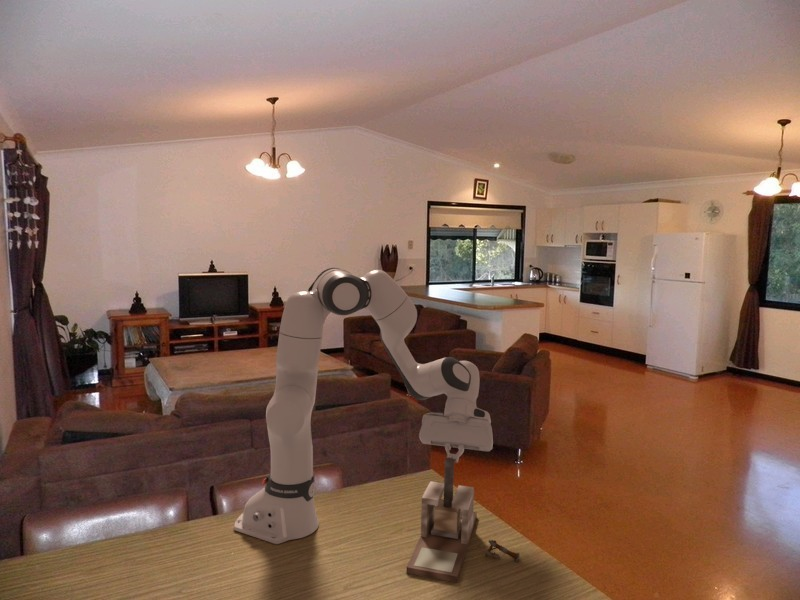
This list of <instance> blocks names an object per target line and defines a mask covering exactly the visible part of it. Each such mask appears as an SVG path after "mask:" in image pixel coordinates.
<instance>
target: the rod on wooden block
mask: <svg viewBox="0 0 800 600" xmlns="http://www.w3.org/2000/svg"><path fill="white" fill-rule="evenodd" d="M454 473H455V462H454V459H453V458H447V457H446V458H444V476H443V478H444V479H443V483H444V493H443V499H442V498H441V499H440V502H439V504H438V506H436V505H435V506H436V507H435V510H434V526H433V528H432V530H431V535H437V536H443V537H449V538H455V539H458V537H459V534H460V531H461V528H462V520H461V510H462V509H456V508H452V500H453V498H454V482H455V481H454V478H455V477H454V475H455V474H454Z"/></svg>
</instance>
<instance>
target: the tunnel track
mask: <svg viewBox="0 0 800 600" xmlns="http://www.w3.org/2000/svg"><path fill="white" fill-rule="evenodd" d="M443 496H444V482H437V481H431V480H430V482H429V483H428V485H427V487H426V489H425V490H424V492H423V494H422V497H421V509H420V511H421V513H420V515H421V516H420V517H421V518H420V538H419V539H418V542H417V544H416V546H415V548H414V550H413V553H412V555H411V557H410V559H409V561H408V564H407V565H406V572H405V573H406V574H408V575H409V574H410V575H414V576H415V575H416V576H421V577H424V578H431V579H436V580H440V581H441V580H442V581H447V582H452V583H456V584H457V583H458V580H459V578H460V574H461V571H462V567H463V564H464V560H465V557H466V554H467V552H468V551H467V550H468V547H469V543H470V541H471V540H470V539H471V536H472V534H473V531H474V527H475V523H476V521H477V517H478V516H477V513H478V512H475V511H474V502H475V500H474V499H475V487H473V486H467V485H461V484H460V485H459V484H458V486H457V489H456V491H455V493H454V495H453V500H452V508H456V509H461V520H462V528H461V531H460V534H459V537H458V539H455V538H449V537H443V536H437V535H431V530H432V528H433V526H434V510H435V507H436V506H438V504H439V502H440V499H442V497H443Z"/></svg>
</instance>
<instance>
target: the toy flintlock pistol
mask: <svg viewBox="0 0 800 600" xmlns="http://www.w3.org/2000/svg"><path fill="white" fill-rule="evenodd" d="M488 543H489V545H490V546H489V548H488V549H486V552H485V554H484V555H485V556H486V557H488V556H489V555H491V556H492V558H495V559H497V560H498V559H501V556H500V555H499V554H498V553H496V552H495V551H494V552H493V550H496V549H498V550H499V551H500V552H501V553H503V554H504V555H508V556H509V557H511V558H512V559H513V560H514V561H515V563H517V562H518V560H519V559H520V552H513V551H511V550H509V549H508V548H507V547H504V546H503V545H500V544H498V543H497V541H496V540H493V539H489V540H488Z"/></svg>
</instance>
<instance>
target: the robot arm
mask: <svg viewBox="0 0 800 600" xmlns="http://www.w3.org/2000/svg"><path fill="white" fill-rule="evenodd" d="M363 309H365V310H366V311H368V313H369V314H370V315H371V317H372V318H373V320H374V321H375V322H376V324H377V325H378V327H379V329H380V332H379V338H380V341H381V344H382V346H383V348H384V349H385V352H386V353H387V354H388V356H389V358H390V359H391V361H392V363H393V364H394V366H395V368H396V369H397V371H398V373H399V374H400V376H401V378H402V380H403V383H404V386H405V387H406V390H407V392H408V394H409V395H410V396H412V397H413V398H414V399H416V400H417V401H426V400H427V399H431V398H432V397H436V396H440V395H443V394H444V395H446V397H447V399H446V401H445V407H444V412H433V411H428V412H427V413H424V414H423V416H422V420H421V426H420V430H419V434H418V437H419V438H418V439H419V440H420V441H421V443H422V444H424V445H431V446H432V445H433V446H441V447H444V449H445V452H446V458H453V459H454V464H455V463H456V464H458V463H459V459H460V457H461V456H462V455H463V453H464V452H465V449H466V450H472V451H473V450H474V451H481V452H491V450H493V449H494V447H493V444H494V440H493V439H494V437H493V427H492V425H491V423H492V420H491V415H490V413H489V411H487V410H484V409H481V408H479V407H477V399H478V397H479V392H480V391H479V390H480V380H481V379H480V370H479V368H478V366H476V364H474V363H473V362H471V361H468V360H458V359H457V358H455V357H452V356H447V357H443V358H440V359H436V360H434V361H429V362H427V363H418V362H417V361H416V360H415V358H414V356H413V355H412V352H410V349H409V348H408V346H407V344H406V343H405V339H406V337H407V336H409V334H410V333H411V331H413V328H414V327H415V325H416V323H417V320H418V319H417V318H418V310H417V307H416V305H415V303H414V302H413V301H412V299H411V298H410V296H409V295H408V294H407V293H406V291H405V290H404V289H403V288H402V286H400V285H399V283H397V282H396V280H395V279H394V278H392V276H390V275H389V274H388V273H387V272H386V271H384V270H382V269H373V270H371V271H368V272H366V273H364V275H363V276H361V277H358V276H356V275H354V274H353V273H351V272H349V271H348V270H345V269H342V268H339V267H330V268H327V269H325V270H323V271H322V272H320V273H319V274H318V275H317V277H316V278H315V280H314V281H313V283H311V285H310V286H309V287H308V289H307V291H306V290H304V291H303V290H302V291H296V292H294V293H292V294H290V295H289V296H288V298H287V300H286V302H285V305H284V309H283V312H282V314H281V315H282V316H281V321H280V326H279V333H278V342H277V347H276V348H277V349H276V357H275V366H276V367H275V370H276V371H275V386H274V392H273V394H272V397H271V399H270V400H269V402H268V404H267V406H266V410H265V423H266V427H267V436H268V442H269V449H270V472H269V473H268V474H267V475H266V476H265V478H264V479H263V480H262V481H261V483H262V484H261V486H264V485H265V486H264V487H263V488H261V489H260V490H259V491H257V492H256V493H255V494H254V495H252V496H251V497H250V498H249V499H248V500H247V502H246V503H245V505H244V509H243V512H242V513H241V514H240V515H239V516H238V517H237V519H235V522H234V526H233V530H234V531H236V532H239V533H242V534H245V535H247V536H251V537H254V538H257V539H259V540H263V541H266V542H269V543H272V544H273V545H279V544H282V543H284V542H287V541H291V540H298V539H302V538H305V537H308V536H310V535H312V534H313V533H314V532H315V531H317V530H318V528H319V525H320V521H319V519H318V516H317V512H316V506H315V505H316V504H315V497H314V496H315V489H316V486H315V473H314V468H313V467H314V450H313V449H314V446H313V441H312V439H313V438H312V428H311V427H312V426H311V425H312V423H311V422H312V421H311V418H312V412H313V410H314V406H315V404H316V395H317V385H318V383H317V382H318V374H319V365H320V364H319V363H320V357H321V348H322V342H323V331H324V324H325V322H326V320H327V317H328V316H329V315H330V314H331V313H332V314H334V315H337V316H349V315H352V314H354V313H356V312H358V311H360V310H363ZM452 448H455V449H458V451H457V452H456V453H451V452H450V451H451V449H452Z"/></svg>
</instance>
